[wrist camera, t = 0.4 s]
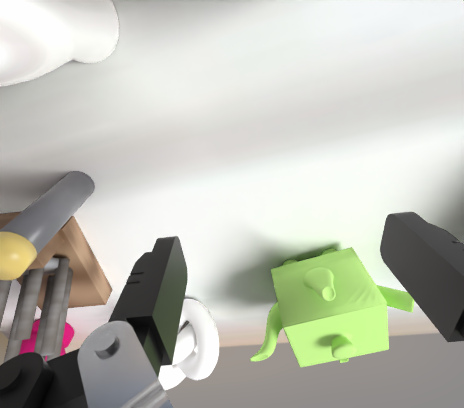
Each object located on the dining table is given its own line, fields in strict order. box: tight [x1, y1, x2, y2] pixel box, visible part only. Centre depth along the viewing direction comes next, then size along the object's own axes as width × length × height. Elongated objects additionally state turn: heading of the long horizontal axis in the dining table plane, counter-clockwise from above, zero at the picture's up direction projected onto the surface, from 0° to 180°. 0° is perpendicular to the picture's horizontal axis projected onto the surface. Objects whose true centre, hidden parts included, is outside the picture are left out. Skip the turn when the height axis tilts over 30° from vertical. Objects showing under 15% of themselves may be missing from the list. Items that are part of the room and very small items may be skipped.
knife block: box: [0, 212, 112, 363], centre depth 29 cm, size 15×9×11 cm, turn 6°
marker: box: [0, 171, 95, 280], centre depth 23 cm, size 3×3×12 cm
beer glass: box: [0, 0, 119, 87], centre depth 14 cm, size 7×7×15 cm
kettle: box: [250, 247, 414, 367], centre depth 31 cm, size 15×14×11 cm
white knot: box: [158, 299, 219, 390], centre depth 36 cm, size 11×12×9 cm
